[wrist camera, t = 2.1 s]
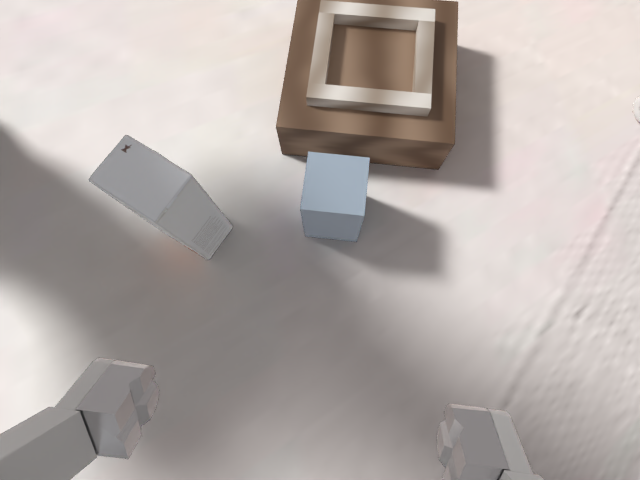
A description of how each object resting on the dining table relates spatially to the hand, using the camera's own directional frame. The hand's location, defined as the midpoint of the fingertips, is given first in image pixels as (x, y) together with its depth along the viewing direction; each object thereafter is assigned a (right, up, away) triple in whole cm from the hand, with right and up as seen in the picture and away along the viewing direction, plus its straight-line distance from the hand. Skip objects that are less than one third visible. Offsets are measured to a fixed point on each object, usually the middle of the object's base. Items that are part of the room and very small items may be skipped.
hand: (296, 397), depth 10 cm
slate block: (+2, +7, +26) cm, 27 cm away
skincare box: (-11, +5, +26) cm, 29 cm away
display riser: (+6, +20, +30) cm, 36 cm away
